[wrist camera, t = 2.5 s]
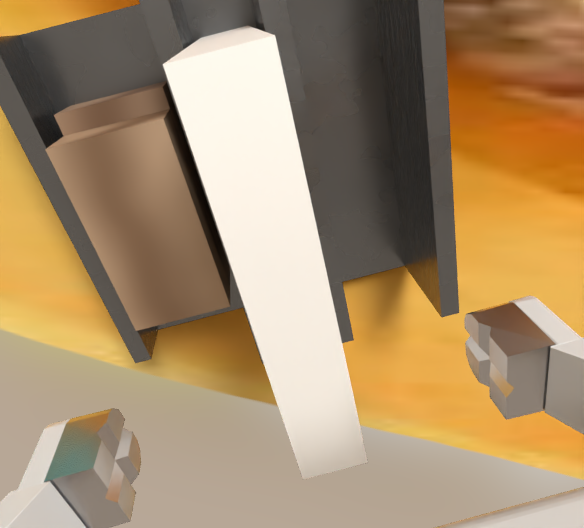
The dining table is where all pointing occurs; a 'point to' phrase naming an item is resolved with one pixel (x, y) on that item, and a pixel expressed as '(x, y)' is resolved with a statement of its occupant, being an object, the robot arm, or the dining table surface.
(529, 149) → the dining table surface
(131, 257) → the offcut upper
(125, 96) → the offcut lower
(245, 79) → the tall sheet
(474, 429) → the dining table surface
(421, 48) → the rack
